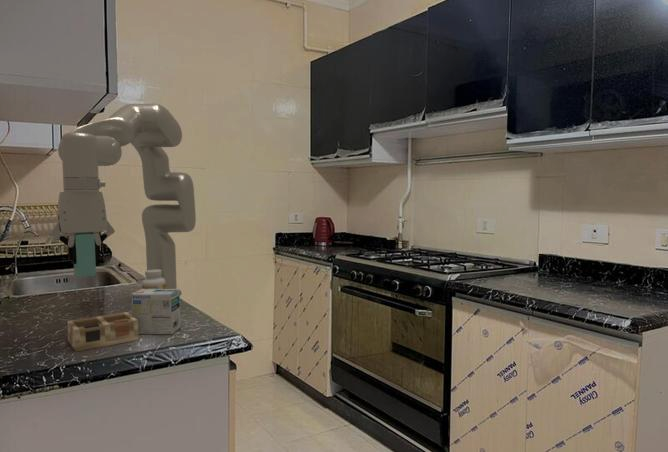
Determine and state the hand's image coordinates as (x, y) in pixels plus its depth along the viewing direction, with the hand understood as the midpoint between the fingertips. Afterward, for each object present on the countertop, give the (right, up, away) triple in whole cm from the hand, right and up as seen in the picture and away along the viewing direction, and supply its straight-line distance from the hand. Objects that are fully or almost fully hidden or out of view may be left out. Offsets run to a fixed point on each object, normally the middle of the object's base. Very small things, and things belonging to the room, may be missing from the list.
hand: (84, 261), depth 118 cm
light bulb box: (+13, -19, +12) cm, 26 cm away
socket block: (+3, -20, +4) cm, 20 cm away
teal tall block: (0, -3, 0) cm, 3 cm away
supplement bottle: (+6, -18, +30) cm, 36 cm away
